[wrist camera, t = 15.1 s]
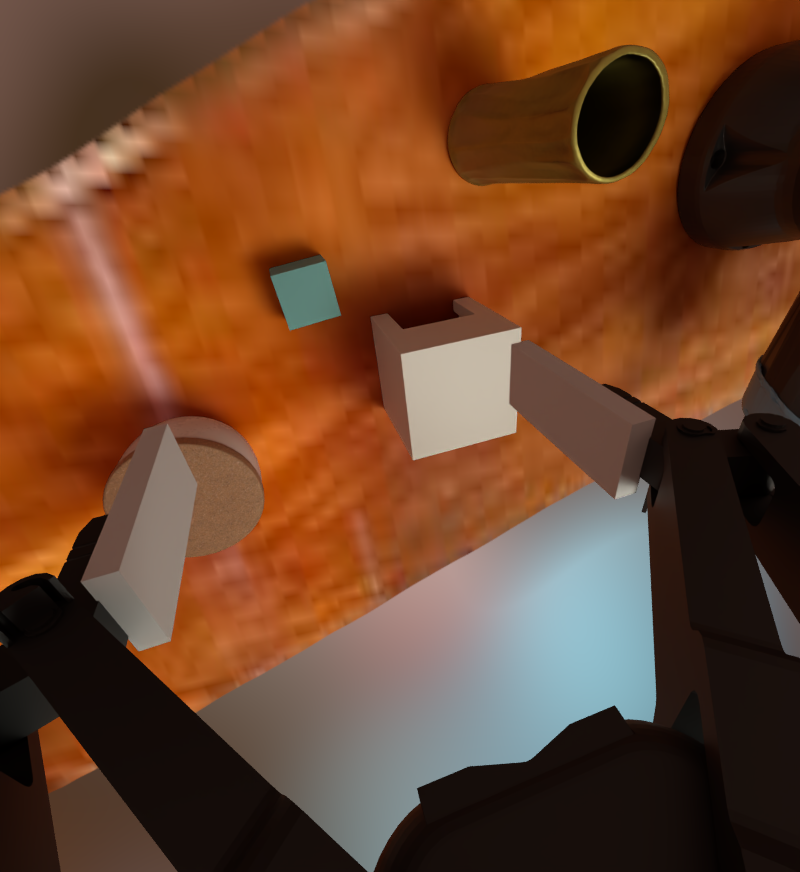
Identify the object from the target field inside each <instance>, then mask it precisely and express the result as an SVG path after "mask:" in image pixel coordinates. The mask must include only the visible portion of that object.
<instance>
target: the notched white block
mask: <svg viewBox="0 0 800 872" xmlns="http://www.w3.org/2000/svg"><path fill="white" fill-rule="evenodd" d="M453 311H454V312H455V313H457V314H458V315H459V318H454V319H449V320H445V321H440V322H435V323H431V324H426V325H421V326H416V327H412V328H407V329H402V328H401V327H400V326H399V325H398V324H397V323H396V322H395V321H394V320H393V319H392V318H391V317H390V315H389V314H388V313H386V314H381V315H376V316H371V324H372V331H373V337H374V344H375V351H376V357H377V364H378V371H379V377H380V384H381V391H382V397H383V404H384V409H385V411H386V413H387V414H388V416H389V418H390V420H391V422H392V423H393V425H394V427H395V429H396V431H397V432H398V434H399V436H400V438H401V440H402V441H403V443H404V445H405V447H406V449H407V450H408V452H409V454H410V456H411V458H412V459H413V460H416V459H420V458H424V457H427V456H431V455H435V454H438V453H442V452H446V451H449V450H453V449H457V448H461V447H464V446H468V445H472V444H475V443H479V442H483V441H486V440H490V439H494V438H498V437H501V436H505V435H509V434H512V433H516V421H517V410H516V409H514V408H513V407H512V406H511V405H510V404H509V391H510V365H511V344H514V343H518V342H521V327H520V326H518V325H516V324H515V323H513V322H511V321H509V320H508V319H506V318H504V317H503V316H501V315H499V314H497V313H496V312H494V311H492V310H491V309H489V308H487V307H485V306H484V305H482V304H480V303H479V302H477V301H475V300H473V299H472V298H470V297H465V298H460V299H455V300H453Z"/></svg>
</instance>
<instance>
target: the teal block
mask: <svg viewBox="0 0 800 872" xmlns="http://www.w3.org/2000/svg"><path fill="white" fill-rule="evenodd" d="M269 271H270V277H271V279H272V282H273V285H274V288H275V290H276V293H277V296H278V299H279V301H280V304H281V307H282V310H283V313H284V315H285V318H286V321H287V324H288V326H289V329H290V330H293V329H297V328H300V327H303V326H307V325H310V324H314V323H317V322H321V321H324V320H327V319H331V318H334V317H338V316H341V313H340V310H339V306H338V303H337V299H336V295H335V292H334V288H333V285H332V281H331V278H330V274H329V271H328V267H327V264H326V261H325V259H324V258H323V257H322V256H321V255H317V256H313V257H310V258H306V259H302V260H299V261H295V262H291V263H288V264H284V265H280V266H277V267H273V268H269Z"/></svg>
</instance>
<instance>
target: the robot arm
mask: <svg viewBox="0 0 800 872" xmlns="http://www.w3.org/2000/svg"><path fill="white" fill-rule="evenodd" d="M678 209H679V214H680V218H681V222H682V224H683V227H684V229H685V230H686V232H687V233H688V235H689V236H690V237H691V238H692V239H693V240H694V241H695V242H697V243H699V244H701V245H703V246H706V247H711V248H717V249H723V250H744V249H748V248H753V247H757V246H759V245H762V244H769V243H777V242H787V241H793V240H800V40H797V41H793V42H788V43H784V44H780V45H775V46H772V47H770V48H767V49H765V50H763V51H761V52H759V53H757V54H756V55H754V56H753V57H751V58H750V59H748V60H747V61H746V62H744V63H743V64H742V65H741V66H740V67H739V68H737V69H736V70H735V71H734V72H733V73H732V74H731V75H730V76H729V77H728V79H727V80H726V81H725V82H724V83H723V84H722V85H721V87H720V88H719V89H718V91H717V92H716V93H715V95H714V96H713V97H712V99H711V100H710V102H709V103H708V105H707V106H706V108H705V110H704V111H703V113H702V115H701V117H700V119H699V120H698V122H697V124H696V126H695V129H694V131H693V133H692V135H691V138H690V140H689V143H688V145H687V148H686V151H685V154H684V158H683V161H682V165H681V170H680V175H679V182H678ZM509 404H510V405H511V406H512V407H513V408H514V409H516V410H517V411H518V412H519V413H520V414H521V415H522V416H523V417H524V418H525V419H527V420H528V421H529V422H530V423H531V424H532V425H533V426H534V427H535V428H537V429H538V430H539V431H540V432H541V433H542V434H543V435H544V436H545V437H546V438H548V439H549V440H550V441H551V442H552V443H553V444H554V445H555V446H556V447H557V448H559V449H560V450H561V451H562V452H563V453H564V454H565V455H566V456H567V457H569V458H570V459H571V460H572V461H573V462H574V463H575V464H576V465H577V466H578V467H580V468H581V469H582V470H583V471H584V472H585V473H586V474H587V475H588V476H590V477H591V478H592V479H593V480H594V481H595V482H596V483H597V484H598V485H600V486H601V487H602V488H603V489H604V490H605V491H606V492H607V493H608V494H609V495H610V496H612V497H613V498H614V499H618V498H621V497H624V496H627V495H630V494H633V493H636V490H637V487H638V483H639V479H640V477H641V478H642V479H643V480H645V481H646V482H647V483H648V484H650V485H649V488H648V492H647V495H646V499H645V502H644V506H643V509H642V512H644V513H645V512H646V511H647V508H648V529H649V548H650V570H651V591H652V611H653V634H654V655H655V676H656V707H655V713H654V720H653V723H652V722H647V721H642V720H630V719H628V720H624V718H623V717H622V715H621V714H620V712H619V711H618V709H617V708H616V707H615V706H612V707H610V708H607V709H605V710H603V711H600V712H598V713H596V714H593V715H591V716H588V717H586V718H584V719H581V720H579V721H576V722H574V723H572V724H569V725H568V726H567V727H566V728H565V729H564V730H563V731H562V732H561V733H560V734H559V735H557V736H556V737H555V738H554V739H553V740H552V741H551V742H550V743H549V744H548V745H546V746H545V747H544V748H543V749H542V750H541V751H540V752H539V753H538V754H537V755H536V756H534V757H533V758H532V759H531V760H529V761H527V762H521V763H509V764H497V765H484V766H470V767H467V768H464V769H462V770H460V771H457V772H455V773H453V774H450V775H448V776H446V777H443V778H441V779H438V780H436V781H433V782H431V783H429V784H426V785H424V786H422V787H419V788H417V790H418V794H419V798H420V804H419V805H418V806H416V807H415V808H414V809H413V810H412V811H411V812H410V813H409V814H408V815H407V816H406V817H405V818H404V820H403V821H402V822H401V823H400V824H399V825H398V827H397V828H396V830H395V831H394V832H393V834H392V835H391V837H390V838H389V840H388V842H387V844H386V846H385V848H384V850H383V851H382V853H381V855H380V857H379V860H378V862H377V865H376V867H375V870H374V872H800V658H798V657H795V656H791V655H787V654H786V653H785V652H784V650H783V648H782V645H781V642H780V639H779V635H778V632H777V628H776V625H775V621H774V618H773V614H772V611H771V608H770V604H769V601H768V597H767V594H766V591H765V587H764V583H763V580H762V577H761V573H760V570H759V566H758V563H757V559H756V556H757V558H758V559H759V561H760V562H761V564H762V566H763V567H764V569H765V570H766V572H767V573H768V575H769V577H770V578H771V579H772V581H773V583H774V584H775V586H776V587H777V589H778V591H779V592H780V594H781V595H782V597H783V598H784V600H785V602H786V603H787V605H788V606H789V608H790V609H791V611H792V612H793V614H794V616H795V617H796V619H797V620H798V622H799V623H800V292H799V294H798V295H797V297H796V299H795V301H794V303H793V304H792V306H791V308H790V310H789V311H788V313H787V315H786V317H785V319H784V320H783V322H782V324H781V326H780V327H779V329H778V331H777V333H776V335H775V336H774V338H773V340H772V342H771V343H770V345H769V347H768V349H767V350H766V352H765V354H764V355H761V357H760V358H759V359H758V361H757V363H756V370H755V372H754V374H753V376H752V379H751V381H750V383H749V385H748V387H747V389H746V391H745V393H744V395H743V398H742V410H743V413H744V415H745V417H744V419H743V421H742V423H741V426H740V428H739V429H732V430H717V428H715V427H714V426H712V425H711V424H709V423H707V422H704V421H701V420H697V419H692V418H678V419H673V420H672V419H671V418H669V417H667V416H665V415H664V414H662V413H660V412H659V411H657V410H655V409H654V408H652V407H650V406H649V405H647V404H645V403H644V402H643V403H641V401H640V400H638V399H637V398H635V397H632V396H631V395H630V394H628V393H627V392H625V391H623V390H622V389H620V388H617V387H613V386H610V385H607V384H602V385H601V384H599V383H598V382H596V381H594V380H593V379H591V378H590V377H588V376H586V375H585V374H583V373H581V372H580V371H578V370H576V369H575V368H573V367H572V366H570V365H568V364H567V363H565V362H563V361H562V360H560V359H559V358H557V357H555V356H554V355H552V354H550V353H549V352H547V351H545V350H544V349H542V348H541V347H539V346H537V345H536V344H534V343H532V342H531V341H529V340H527V341H522V342H518V343H514V344H511V365H510V391H509ZM774 487H775V489H774ZM196 490H197V482H196V480H195V478H194V476H193V474H192V472H191V470H190V468H189V466H188V464H187V462H186V460H185V458H184V456H183V454H182V452H181V450H180V448H179V446H178V444H177V442H176V440H175V438H174V436H173V433H172V431H171V429H170V427H169V425H168V423H167V424H162V425H158V426H154V427H149V428H145V429H144V430H143V432H142V435H141V437H140V440H139V442H138V444H137V447H136V449H135V452H134V454H133V456H132V459H131V461H130V464H129V466H128V469H127V471H126V473H125V476H124V478H123V481H122V483H121V485H120V488H119V490H118V493H117V495H116V498H115V500H114V502H113V505H112V507H111V510H110V512H109V514H108V515H104V516H100V517H96V518H93V519H92V520H91V521H90V522H89V523H88V524H87V525H86V526H85V527H84V528H83V529H82V530H81V531H80V532H79V534H78V536H77V538H76V540H75V542H74V544H73V547H72V549H73V550H71V551H70V553H69V555H68V557H67V559H66V560H67V562H65V563H64V566H63V568H62V570H61V572H60V574H59V576H58V578H56V577H55V576H54V575H51V574H48V573H41V574H34V575H31V576H28V577H25V578H22V579H20V580H19V581H17V582H15V583H13V584H11V585H10V586H8V587H6V588H5V589H4V590H3V591H1V592H0V642H1V643H2V644H3V645H1V646H0V872H61V871H60V865H59V858H58V852H57V846H56V840H55V834H54V827H53V821H52V815H51V809H50V803H49V796H48V790H47V784H46V778H45V771H44V765H43V759H42V753H41V746H40V740H39V734H38V729H39V728H41V727H43V726H44V725H46V724H47V723H49V722H51V721H52V720H54V719H56V718H57V717H59V716H60V718H61V719H62V720H63V722H64V723H65V724H66V726H67V727H68V728H69V730H70V731H71V732H72V733H73V735H74V736H75V737H76V739H77V740H78V741H79V743H80V744H81V745H82V747H83V748H84V749H85V751H86V752H87V753H88V754H89V756H90V757H91V758H92V760H93V761H94V762H95V764H96V765H97V766H98V768H99V769H100V770H101V772H102V773H103V774H104V775H105V777H106V778H107V779H108V781H109V782H110V783H111V785H112V786H113V787H114V789H115V790H116V791H117V792H118V794H119V795H120V796H121V798H122V799H123V800H124V802H125V803H126V804H127V806H128V807H129V808H130V810H131V811H132V812H133V814H134V815H135V816H136V817H137V819H138V820H139V821H140V823H141V824H142V825H143V827H144V828H145V829H146V831H147V832H148V833H149V835H150V836H151V837H152V839H153V840H154V841H155V842H156V844H157V845H158V846H159V848H160V849H161V850H162V852H163V853H164V854H165V856H166V857H167V858H168V860H169V861H170V862H171V863H172V865H173V866H174V867H175V869H176V870H177V871H178V872H367V871H366V870H365V869H364V868H363V867H362V866H361V865H360V864H359V863H358V862H357V861H356V860H355V859H354V858H352V857H351V856H350V855H349V854H348V853H347V852H346V851H345V850H344V849H343V848H342V847H341V846H340V845H339V844H337V843H336V842H335V841H334V840H333V839H332V838H331V837H330V836H329V835H328V834H327V833H326V832H325V831H324V830H323V829H322V828H321V827H320V826H318V825H317V824H316V823H315V822H314V821H313V820H312V819H311V818H310V817H309V816H308V815H307V814H306V813H305V812H304V811H302V810H301V809H300V808H299V807H298V806H297V805H295V803H294V802H292V801H291V800H290V799H289V798H287V797H286V796H285V795H282V794H281V793H279V792H278V791H277V790H276V789H275V788H274V787H273V786H272V785H270V784H269V783H268V782H267V781H266V780H265V779H264V778H263V777H262V776H261V775H260V774H259V773H258V772H257V771H256V770H255V769H254V768H253V767H252V766H251V765H249V764H248V763H247V762H246V761H245V760H244V759H243V758H242V757H241V756H240V755H239V754H238V753H237V752H236V751H235V750H233V748H232V747H230V746H229V745H228V744H227V743H226V742H225V741H224V740H223V739H222V738H221V737H220V736H219V735H218V734H217V733H216V732H215V731H214V730H213V729H211V728H210V727H209V726H208V725H207V724H206V723H205V722H204V721H203V720H202V719H201V718H200V717H199V716H198V715H197V714H196V713H195V712H194V711H192V710H191V709H190V708H189V707H188V706H187V705H186V704H185V703H184V702H183V701H182V700H181V699H180V698H179V697H178V696H177V695H176V694H175V693H173V692H172V691H171V690H170V689H169V688H168V687H167V686H166V685H165V684H164V683H163V682H162V681H161V680H160V679H159V678H158V677H157V676H156V675H154V674H153V673H152V672H151V671H150V670H149V669H148V668H147V667H146V666H145V665H144V664H143V663H142V662H141V661H140V660H139V659H138V658H137V657H135V656H134V655H133V654H132V653H131V652H130V651H129V650H128V649H127V648H126V644H127V640H128V639H129V640H130V642H131V643H132V644H133V645H134V646H135V648H136V649H137V650H138V651H141V650H144V649H147V648H151V647H154V646H157V645H160V644H163V643H166V642H169V641H171V636H172V630H173V624H174V619H175V613H176V607H177V601H178V595H179V589H180V583H181V578H182V572H183V566H184V560H185V554H186V548H187V542H188V537H189V531H190V525H191V519H192V513H193V507H194V501H195V496H196ZM755 555H756V556H755Z"/></svg>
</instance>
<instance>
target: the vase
mask: <svg viewBox="0 0 800 872" xmlns="http://www.w3.org/2000/svg"><path fill="white" fill-rule="evenodd" d="M668 106H669V84H668V76H667V71H666V68H665V66H664V64H663V62H662V60H661V59H660V58H659V56H658V55H657V54H656V53H655V52H654V51H653V50H651V49H649V48H646V47H642V46H637V45H623V46H618V47H615V48H612V49H610V50H607V51H604V52H601V53H598V54H595V55H593V56H590V57H587V58H584V59H582V60H579V61H576V62H572V63H569V64H566V65H563V66H560V67H557V68H554V69H551V70H548V71H545V72H543V73H540V74H538V75H535V76H533V77H530V78H526V79H522V80H515V81H507V82H499V83H494V84H483V85H480V86H478V87H476V88H474V89H472V90H471V91H469V92H468V93H467V94H466V95H465V96H464V97H463V98H462V99H461V101H460V102H459V104H458V106H457V107H456V109H455V112H454V114H453V116H452V118H451V121H450V125H449V130H448V150H449V155H450V158H451V161H452V163H453V166H454V168H455V169H456V171H457V172H458V174H459V175H460V176H461V177H462V178H463V179H464V180H466V181H467V182H469V183H471V184H474V185H478V186H485V185H490V184H495V183H590V184H607V183H613V182H616V181H618V180H620V179H623V178H625V177H627V176H629V175H630V174H632V173H633V172H634V171H635V170H636V169H638V168H639V167H640V165H641V164H642V163H643V162H644V161H645V160H646V158H647V157H648V155H649V154H650V152H651V151H652V149H653V147H654V145H655V144H656V142H657V140H658V138H659V136H660V134H661V131H662V129H663V126H664V123H665V120H666V117H667V112H668Z"/></svg>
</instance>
